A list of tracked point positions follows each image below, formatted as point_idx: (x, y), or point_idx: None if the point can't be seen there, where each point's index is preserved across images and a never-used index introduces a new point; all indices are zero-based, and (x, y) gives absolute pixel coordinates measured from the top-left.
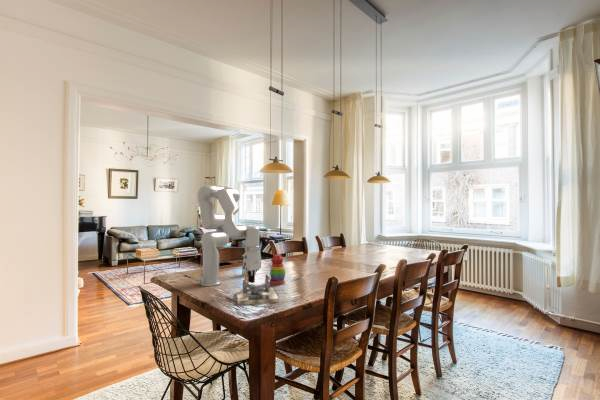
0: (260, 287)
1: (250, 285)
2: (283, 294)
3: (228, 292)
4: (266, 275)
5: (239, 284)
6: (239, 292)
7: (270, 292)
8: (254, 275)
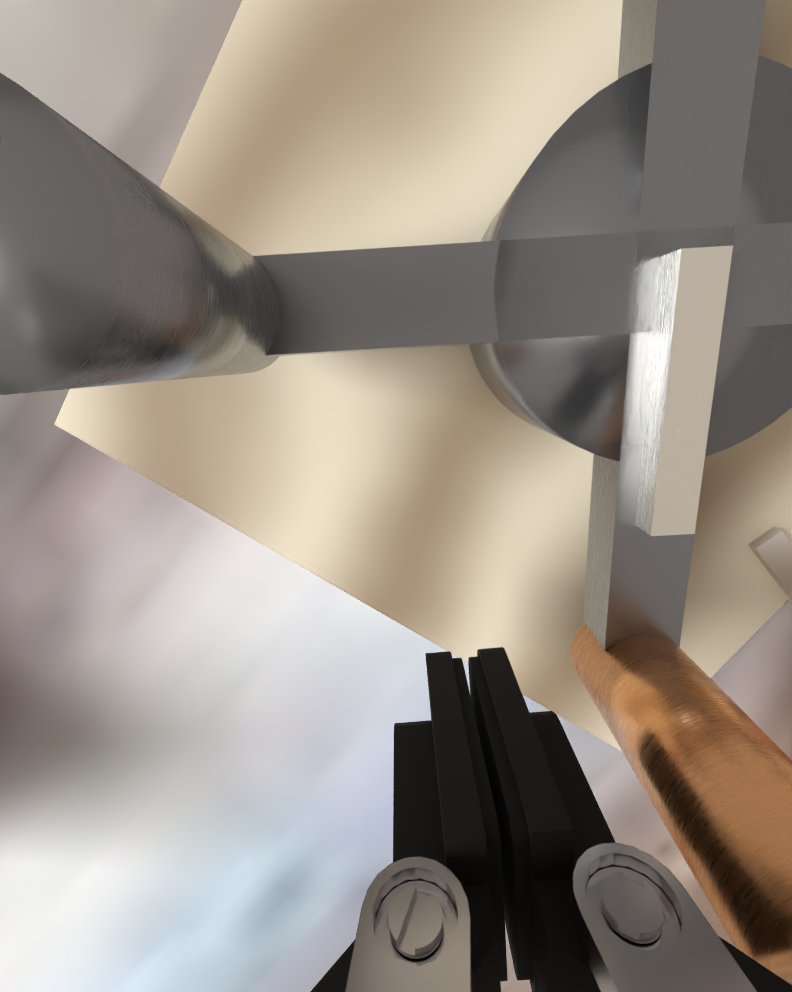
0: (647, 137)
1: (678, 521)
2: (19, 76)
3: (632, 807)
4: (85, 214)
5: (281, 970)
6: (719, 608)
7: (299, 156)
8: (459, 828)
